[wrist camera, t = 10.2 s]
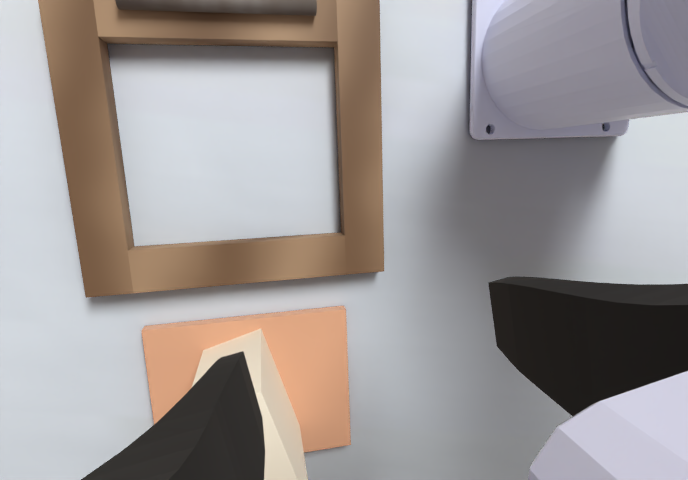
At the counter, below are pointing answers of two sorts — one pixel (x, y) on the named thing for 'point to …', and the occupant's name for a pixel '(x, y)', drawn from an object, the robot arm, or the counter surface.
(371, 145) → the wooden picture frame
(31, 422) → the counter surface
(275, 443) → the cream upright block
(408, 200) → the counter surface
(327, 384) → the peach rectangular tile
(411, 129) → the counter surface
